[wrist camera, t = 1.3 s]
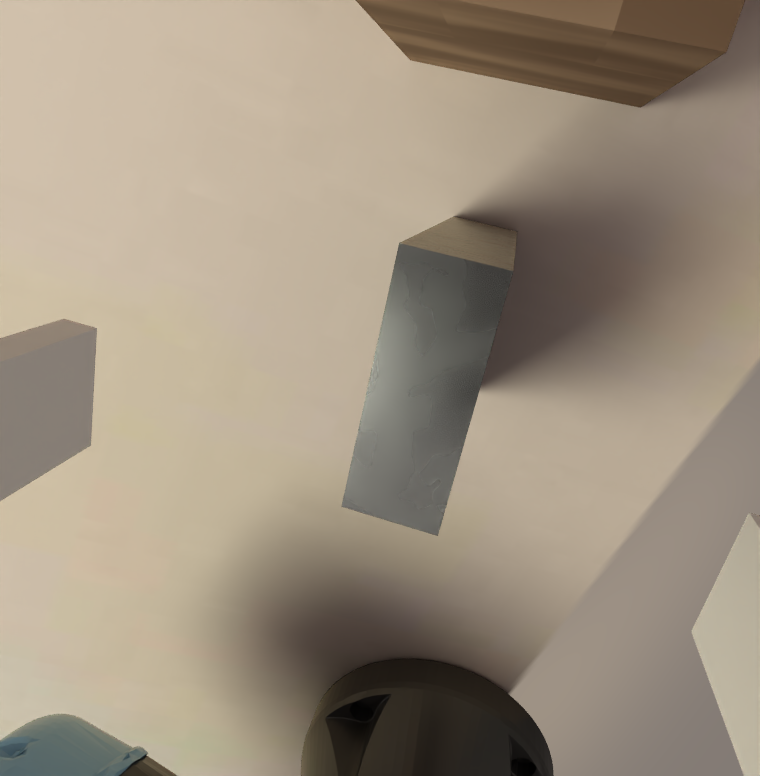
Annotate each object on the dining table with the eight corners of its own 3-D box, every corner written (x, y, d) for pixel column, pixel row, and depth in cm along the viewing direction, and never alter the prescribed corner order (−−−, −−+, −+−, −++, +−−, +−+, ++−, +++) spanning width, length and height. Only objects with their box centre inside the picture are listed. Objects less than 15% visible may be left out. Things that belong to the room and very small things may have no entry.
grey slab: (472, 391, 32) (437, 536, 19) (414, 375, 32) (341, 506, 19) (517, 231, 29) (513, 270, 16) (454, 216, 29) (399, 242, 16)
